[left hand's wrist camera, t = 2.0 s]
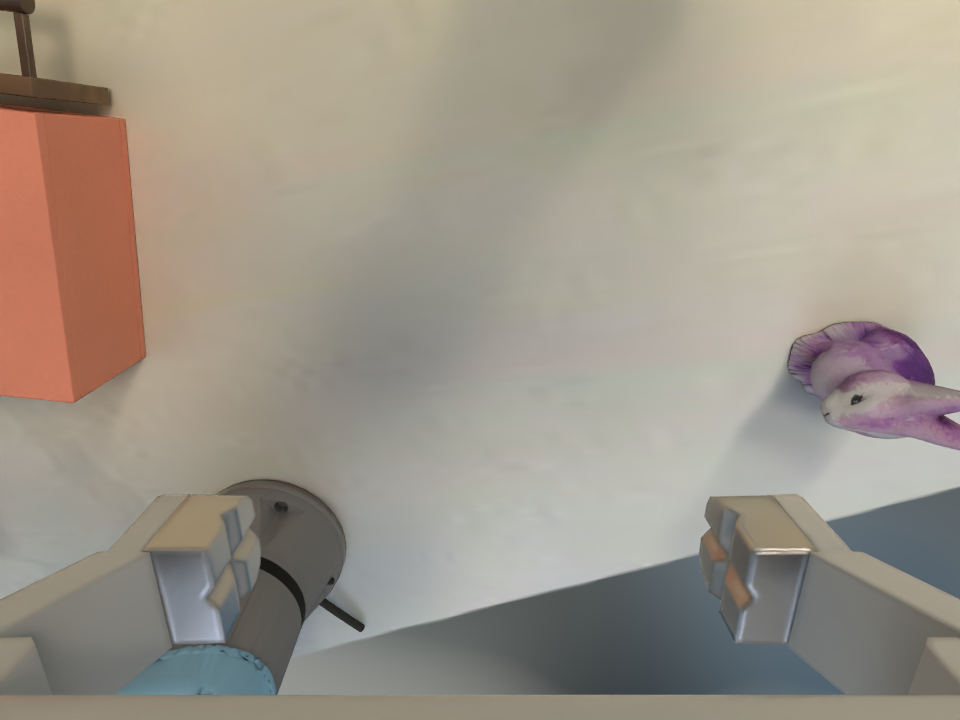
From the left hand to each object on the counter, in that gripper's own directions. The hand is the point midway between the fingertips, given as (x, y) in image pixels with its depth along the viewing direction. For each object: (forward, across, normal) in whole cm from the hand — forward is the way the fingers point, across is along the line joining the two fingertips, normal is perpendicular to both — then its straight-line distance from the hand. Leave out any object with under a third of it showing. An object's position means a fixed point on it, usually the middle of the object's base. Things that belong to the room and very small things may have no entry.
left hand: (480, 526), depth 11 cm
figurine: (+42, -32, +13) cm, 54 cm away
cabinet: (+42, +35, +1) cm, 54 cm away
